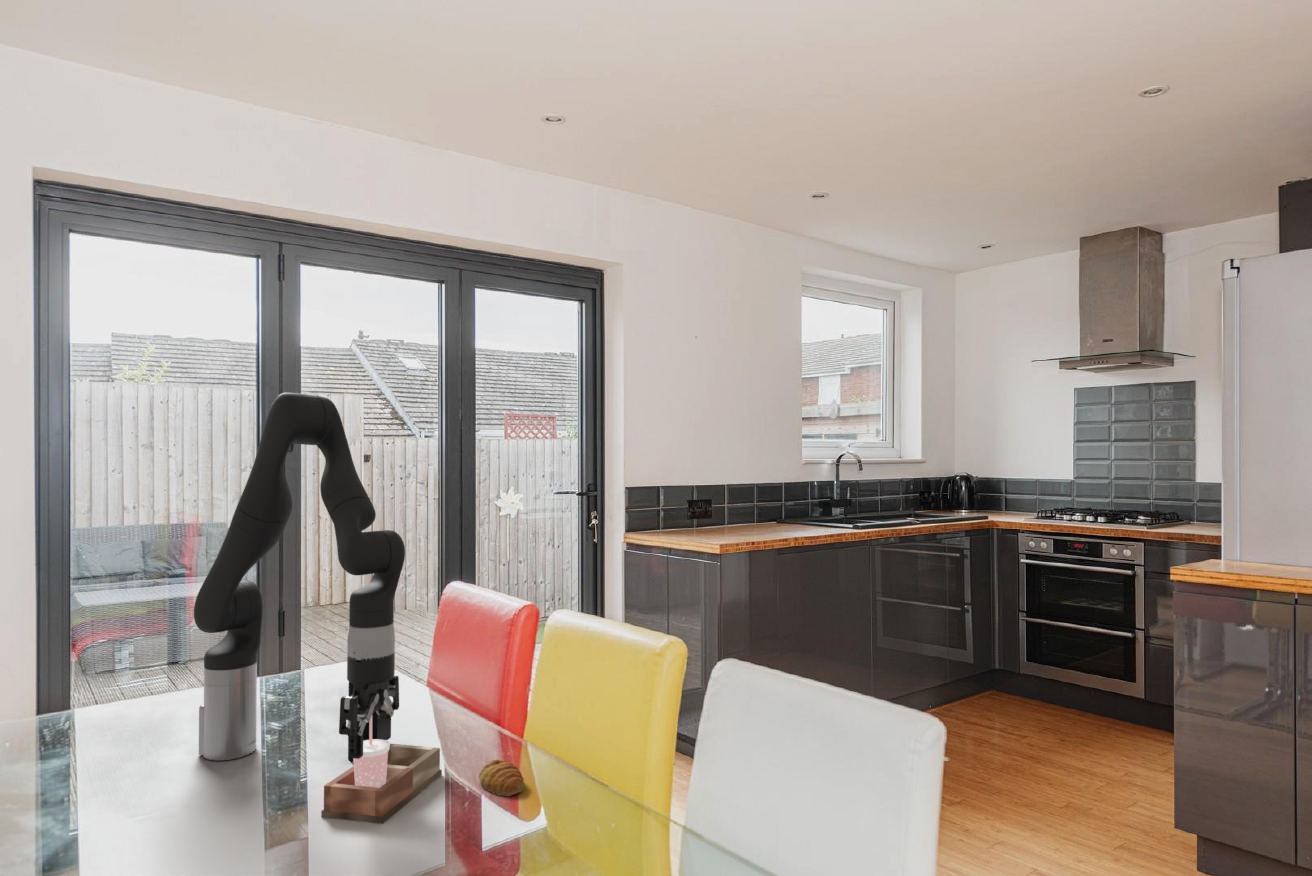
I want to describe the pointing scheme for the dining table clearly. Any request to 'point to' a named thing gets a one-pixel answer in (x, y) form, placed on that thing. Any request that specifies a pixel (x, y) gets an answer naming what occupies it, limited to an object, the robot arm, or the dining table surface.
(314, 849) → the dining table surface
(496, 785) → the pastry
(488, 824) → the dining table surface
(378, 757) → the beverage cup
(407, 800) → the cup holder
